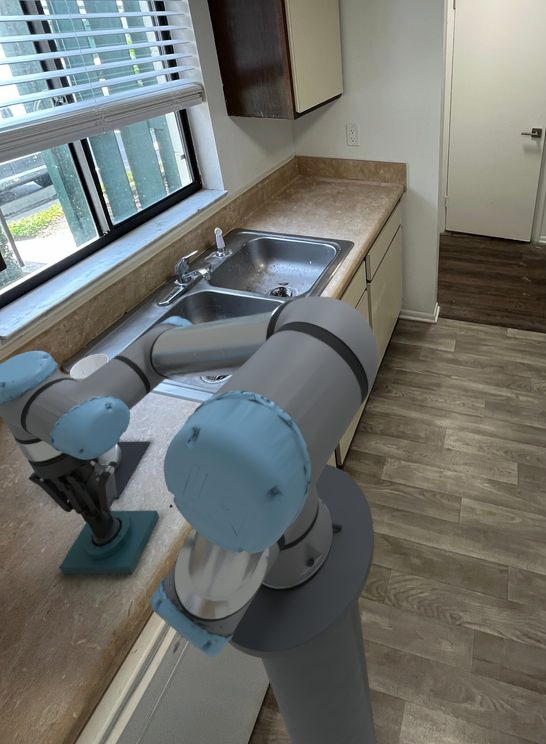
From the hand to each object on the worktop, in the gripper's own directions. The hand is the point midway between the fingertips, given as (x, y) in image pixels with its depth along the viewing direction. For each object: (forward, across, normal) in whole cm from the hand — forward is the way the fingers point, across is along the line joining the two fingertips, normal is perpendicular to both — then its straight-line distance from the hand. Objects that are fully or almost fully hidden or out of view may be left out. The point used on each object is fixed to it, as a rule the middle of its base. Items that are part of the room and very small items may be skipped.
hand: (105, 528), depth 77 cm
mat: (+5, +10, -14) cm, 18 cm away
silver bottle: (+5, +10, -14) cm, 18 cm away
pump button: (+2, 0, 0) cm, 2 cm away
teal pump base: (+5, 0, 0) cm, 5 cm away
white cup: (+5, +23, -33) cm, 40 cm away
